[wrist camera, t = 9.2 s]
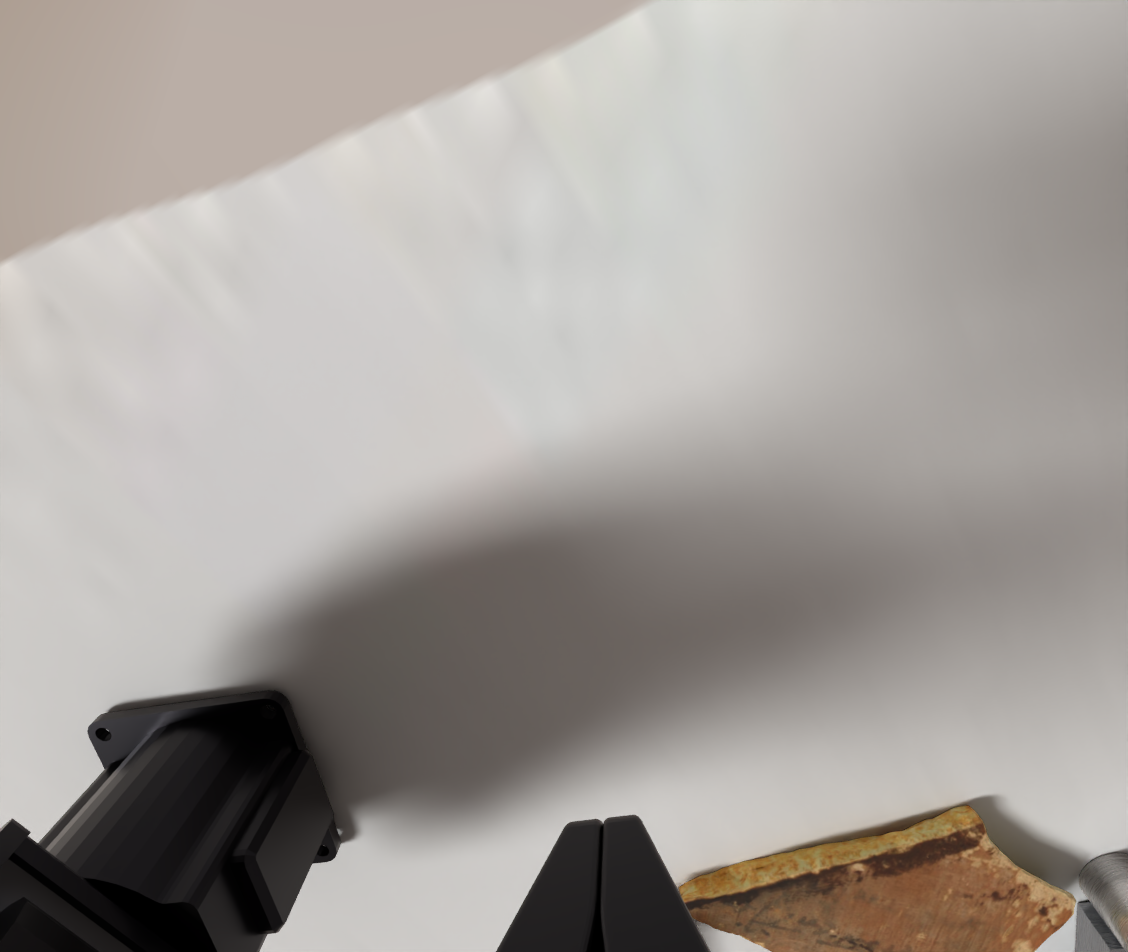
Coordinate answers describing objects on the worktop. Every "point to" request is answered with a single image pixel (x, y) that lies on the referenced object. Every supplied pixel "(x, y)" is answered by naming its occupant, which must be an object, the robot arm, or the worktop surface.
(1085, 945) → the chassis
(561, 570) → the worktop surface
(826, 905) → the shard
